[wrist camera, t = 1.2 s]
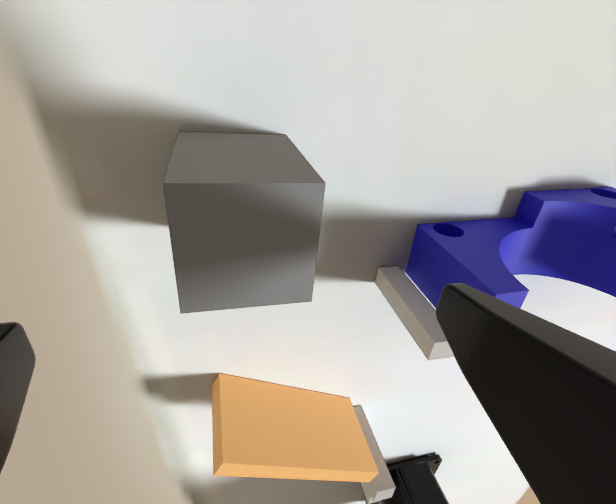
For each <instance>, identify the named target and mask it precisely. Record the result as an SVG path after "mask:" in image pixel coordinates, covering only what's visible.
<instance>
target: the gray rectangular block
mask: <svg viewBox="0 0 616 504" xmlns="http://www.w3.org/2000/svg"><path fill="white" fill-rule="evenodd" d="M163 186H164V193H165V200H166V208H167V215H168V223H169V230H170V238H171V245H172V253H173V260H174V268H175V275H176V283H177V290H178V298H179V305H180V313H191V312H202V311H213V310H224V309H234V308H245V307H256V306H267V305H278V304H289V303H300V302H311V301H312V293H313V284H314V276H315V267H316V259H317V251H318V242H319V234H320V225H321V217H322V209H323V200H324V192H325V182H324V181H323V179H322V178H321V177H320V176H319V175H318V173H317V172H316V171H315V170H314V168H313V167H312V166H311V165H310V164H309V162H308V161H307V160H306V159H305V157H304V156H303V155H302V154H301V153H300V151H299V150H298V149H297V148H296V146H295V145H294V144H293V143H292V141H291V140H290V139H289V138H288V137H287V135H277V134H248V133H220V132H191V131H179V132H178V136H177V139H176V142H175V146H174V149H173V152H172V156H171V159H170V162H169V166H168V169H167V172H166V176H165V179H164V182H163Z"/></svg>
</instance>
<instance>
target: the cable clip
mask: <svg viewBox="0 0 616 504" xmlns="http://www.w3.org/2000/svg"><path fill="white" fill-rule="evenodd" d="M406 273H407V275H408V276H409V277H410V278H411V279H412V281H413V282H414V283H415V284H416V285H417V286H418V288H419V289H420V290H421V291H422V292H423V294H424V295H425V296H426V297H427V298H428V299H429V301H430V302H431V303H432V304H433V305H434V307H435V308H436V307H437V304H438V301H439V299H440V296H441V293H442V290H443V288H444V287H445V286H446V285H447V284H453V283H464V284H466V285H468V286H470V287H473V288H475V289H477V290H479V291H482V292H484V293H486V294H488V295H491V296H493V297H495V298H497V299H499V300H502V301H504V302H506V303H508V304H511V305H513V306H515V307H517V308H521V306H522V304H523V302H524V300H525V297H526V295H527V293H528V291H529V290H528V289H527V288H526V287H525V286H524V285H522V284H521V283H520V282H519V281H518V280H517V279H516V278H515V277H514V276H513V275H517V274H532V275H542V276H550V277H555V278H560V279H564V280H568V281H572V282H576V283H579V284H582V285H585V286H589V287H591V288H594V289H597V290H600V291H602V292H605V293H607V294H610V295H612V296H614V297H616V189H615V188H613V187H599V188H581V189H562V190H544V191H525V192H524V195H523V197H522V200H521V202H520V205H519V207H518V210H517V212H516V214H515V217H510V218H496V219H483V220H470V221H456V222H443V223H429V224H417V228H416V232H415V237H414V241H413V245H412V249H411V253H410V257H409V261H408V265H407V270H406Z"/></svg>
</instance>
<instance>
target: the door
mask: <svg viewBox="0 0 616 504" xmlns="http://www.w3.org/2000/svg"><path fill="white" fill-rule="evenodd" d="M212 416H213V476H236V477H258V478H281V479H303V480H326V481H348V482H370V481H371V480H372V479H373V478H374V477H375V476H376V475H377V474H378V473H379V471H378V469H377V466H376V464H375V461H374V459H373V456H372V453H371V451H370V448H369V446H368V443H367V441H366V438H365V436H364V433H363V431H362V428H361V426H360V423H359V421H358V418H357V416H356V413H355V411H354V408H353V406H352V403H351V401H350V398H346V397H341V396H336V395H330V394H325V393H320V392H315V391H310V390H304V389H299V388H294V387H289V386H283V385H278V384H273V383H268V382H262V381H257V380H252V379H247V378H241V377H236V376H231V375H226V374H220V373H219V375H218V376H217V378H216V379H215V381H214V382H213V384H212Z"/></svg>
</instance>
